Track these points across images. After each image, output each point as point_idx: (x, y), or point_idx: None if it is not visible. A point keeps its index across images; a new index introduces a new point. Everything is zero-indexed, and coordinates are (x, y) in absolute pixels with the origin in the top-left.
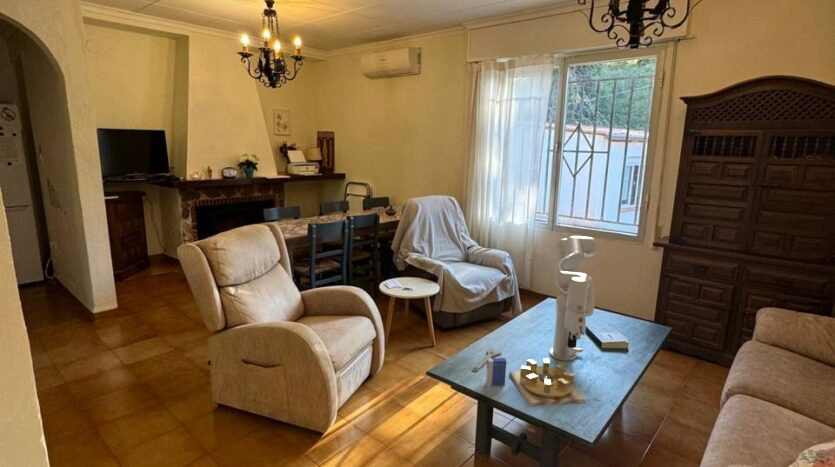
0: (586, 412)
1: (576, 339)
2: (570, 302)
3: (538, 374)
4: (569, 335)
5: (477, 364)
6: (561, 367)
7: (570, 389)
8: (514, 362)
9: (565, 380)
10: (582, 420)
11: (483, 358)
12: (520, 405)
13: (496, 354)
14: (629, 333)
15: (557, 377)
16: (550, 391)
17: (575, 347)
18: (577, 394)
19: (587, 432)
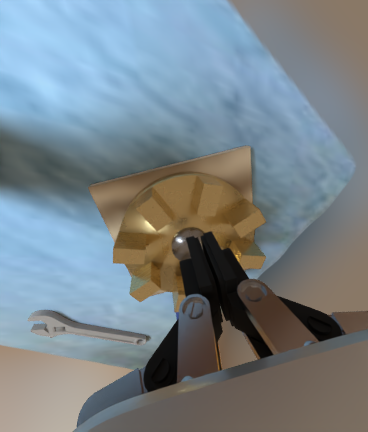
0: (284, 154)
1: (260, 287)
2: None
3: (168, 258)
4: (218, 349)
5: (124, 341)
6: (168, 217)
7: (238, 191)
8: (79, 285)
9: (248, 218)
10: (308, 172)
11: (94, 337)
12: (249, 275)
13: (61, 320)
14: None
15: (177, 215)
16: (245, 239)
17: (211, 231)
18: (228, 164)
19: (343, 172)
